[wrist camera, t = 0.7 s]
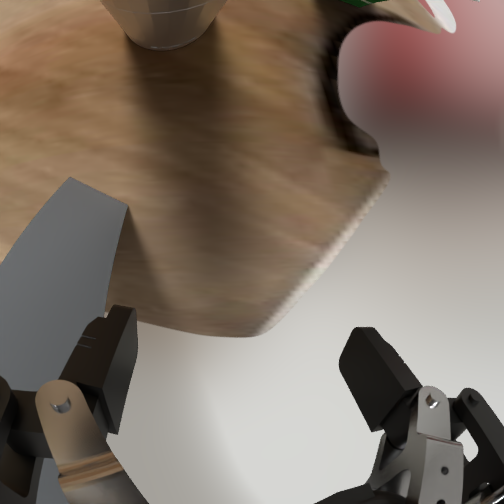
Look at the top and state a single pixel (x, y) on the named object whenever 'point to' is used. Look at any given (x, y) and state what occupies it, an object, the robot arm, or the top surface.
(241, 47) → the top surface
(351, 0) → the milk carton
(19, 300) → the pedestal
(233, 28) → the top surface
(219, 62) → the top surface
